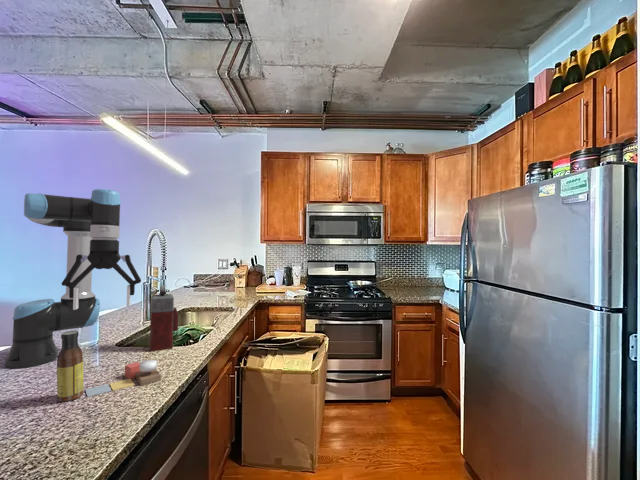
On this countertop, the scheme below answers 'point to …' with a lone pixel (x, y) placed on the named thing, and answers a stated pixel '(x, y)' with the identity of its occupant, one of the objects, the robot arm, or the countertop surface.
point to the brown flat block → (147, 377)
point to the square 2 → (121, 384)
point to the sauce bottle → (70, 368)
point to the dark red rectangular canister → (162, 321)
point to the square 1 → (97, 390)
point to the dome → (148, 365)
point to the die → (132, 370)
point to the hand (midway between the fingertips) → (102, 307)
